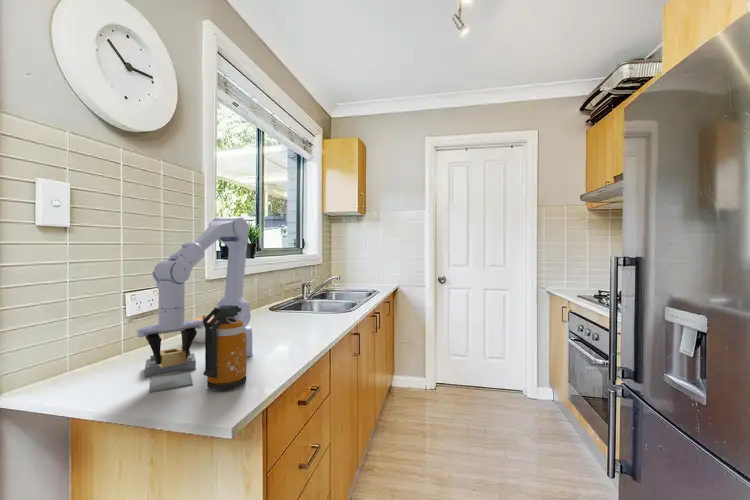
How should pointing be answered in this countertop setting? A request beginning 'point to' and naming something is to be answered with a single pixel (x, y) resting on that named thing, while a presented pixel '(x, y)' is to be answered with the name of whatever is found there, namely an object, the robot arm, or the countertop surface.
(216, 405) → the countertop surface
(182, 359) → the brass square ring
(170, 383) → the rubber mat
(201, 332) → the lidded jar
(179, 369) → the block
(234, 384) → the canister
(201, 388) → the countertop surface
